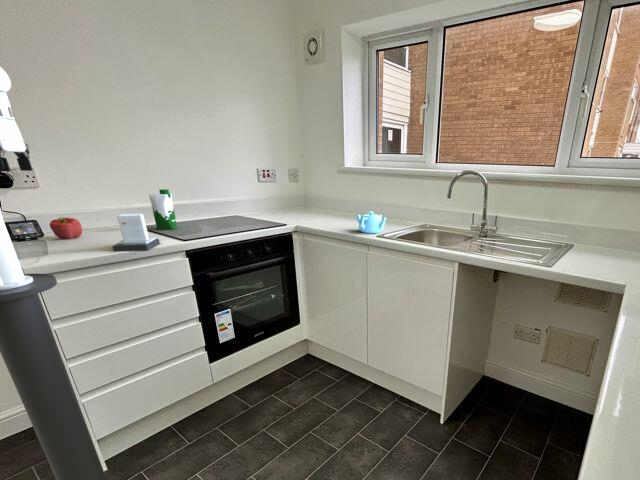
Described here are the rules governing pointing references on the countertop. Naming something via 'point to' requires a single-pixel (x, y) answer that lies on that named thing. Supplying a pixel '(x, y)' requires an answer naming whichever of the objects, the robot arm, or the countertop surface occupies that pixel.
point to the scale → (136, 245)
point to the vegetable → (66, 227)
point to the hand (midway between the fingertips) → (15, 170)
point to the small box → (133, 227)
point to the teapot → (371, 223)
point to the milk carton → (163, 210)
